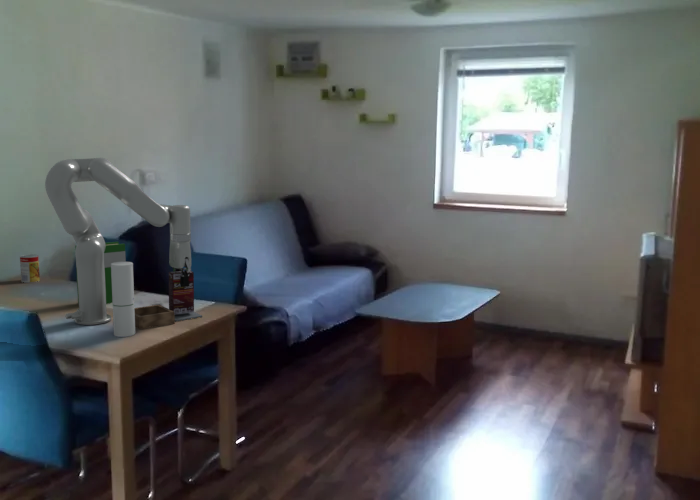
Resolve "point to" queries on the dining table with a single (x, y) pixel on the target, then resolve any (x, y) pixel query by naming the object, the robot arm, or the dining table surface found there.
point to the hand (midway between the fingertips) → (181, 284)
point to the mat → (186, 316)
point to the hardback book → (111, 255)
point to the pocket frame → (153, 316)
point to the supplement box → (181, 294)
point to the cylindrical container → (123, 299)
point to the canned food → (29, 268)
